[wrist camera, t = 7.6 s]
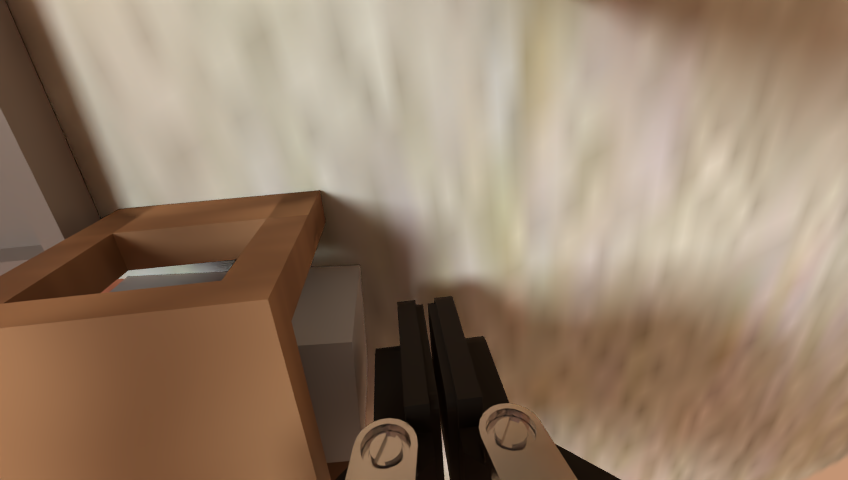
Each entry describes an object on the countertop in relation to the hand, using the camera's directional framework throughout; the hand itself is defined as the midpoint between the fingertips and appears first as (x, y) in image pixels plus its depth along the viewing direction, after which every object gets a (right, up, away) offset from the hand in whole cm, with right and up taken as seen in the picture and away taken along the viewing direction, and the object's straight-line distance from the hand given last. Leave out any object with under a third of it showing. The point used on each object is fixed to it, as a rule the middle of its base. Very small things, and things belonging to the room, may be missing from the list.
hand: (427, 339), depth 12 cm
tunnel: (-6, 0, +1) cm, 6 cm away
